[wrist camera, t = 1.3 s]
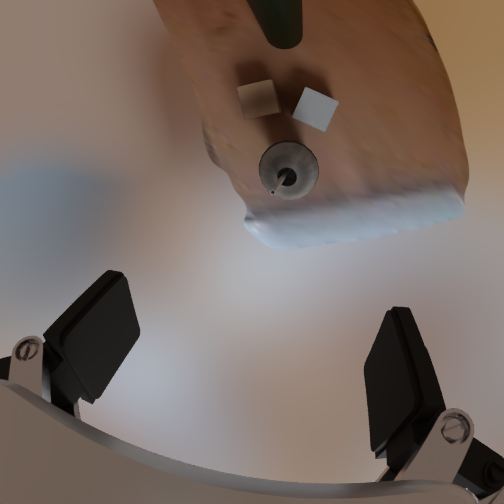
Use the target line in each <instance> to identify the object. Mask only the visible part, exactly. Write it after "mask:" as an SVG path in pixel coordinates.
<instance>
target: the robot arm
mask: <svg viewBox="0 0 504 504" xmlns="http://www.w3.org/2000/svg"><path fill="white" fill-rule="evenodd" d="M43 336H44V338H45V340H46V341H45V342H44V343H43V342H42V340H41V339H40V338H39V337H37V336H28V337H25V338H23V339H21V340H20V341H19V342H18V343H17V344H16V345H15V347H14V348H13V351H12V356H9V357H5V358H2V359H0V504H504V458H503V457H502V456H500V455H499V454H497V453H496V452H495V451H493V450H491V449H490V448H489V447H487V446H486V445H484V444H482V443H481V442H480V441H478V440H477V439H475V438H474V437H473V435H474V424H473V422H472V419H471V418H470V416H469V415H468V414H467V413H465V412H464V411H463V410H460V409H456V408H451V409H447V410H446V406H445V403H444V400H443V396H442V392H441V389H440V386H439V383H438V379H437V376H436V373H435V370H434V367H433V364H432V361H431V359H430V356H429V353H428V350H427V348H426V347H425V345H424V343H423V340H422V337H421V335H420V332H419V330H418V327H417V324H416V322H415V320H414V317H413V315H412V313H411V310H410V308H407V307H393V308H392V309H391V310H388V311H387V312H386V314H385V317H384V319H383V322H382V324H381V327H380V329H379V332H378V334H377V337H376V339H375V341H374V344H373V346H372V348H371V351H370V353H369V355H368V357H367V360H366V362H365V365H364V378H365V386H366V395H367V405H368V416H369V428H370V444H371V450H372V451H373V452H375V456H376V457H375V458H376V459H380V458H387V466H388V467H387V468H386V469H385V470H384V472H383V473H382V474H381V476H380V477H379V478H378V479H377V480H376V481H375V482H370V483H350V484H322V483H321V484H320V483H318V484H317V483H297V482H284V481H274V480H266V479H258V478H252V477H245V476H239V475H234V474H229V473H224V472H219V471H215V470H210V469H206V468H202V467H198V466H195V465H191V464H187V463H184V462H180V461H177V460H174V459H170V458H167V457H164V456H162V455H159V454H156V453H153V452H150V451H147V450H145V449H142V448H140V447H137V446H134V445H132V444H130V443H127V442H124V441H122V440H120V439H118V438H116V437H113V436H111V435H109V434H107V433H105V432H103V431H100V430H98V429H96V428H94V427H92V426H90V425H88V424H86V423H85V422H82V421H81V418H80V412H79V405H78V399H79V398H80V397H81V398H82V399H83V400H85V401H87V402H89V403H91V404H93V403H94V401H95V399H98V398H99V397H100V396H101V395H102V393H103V392H104V390H105V389H106V387H107V385H108V384H109V382H110V380H111V379H112V377H113V376H114V374H115V373H116V371H117V370H118V368H119V367H120V365H121V364H122V362H123V361H124V359H125V357H126V356H127V354H128V353H129V351H130V350H131V348H132V347H133V345H134V344H135V342H136V341H137V340H138V338H139V336H140V327H139V324H138V320H137V317H136V313H135V309H134V305H133V302H132V298H131V294H130V289H129V285H128V281H127V278H126V277H125V276H124V274H123V273H122V272H118V271H113V270H108V271H106V272H105V273H104V274H103V275H102V276H101V277H100V278H98V280H96V281H95V282H94V283H93V284H92V285H91V286H90V287H89V288H88V289H87V290H86V291H85V292H84V293H83V294H82V295H81V296H80V297H79V298H78V299H77V300H76V301H75V302H74V303H73V304H72V305H71V306H70V307H69V308H68V309H67V310H66V311H65V312H64V313H63V314H62V315H61V316H60V317H59V318H58V319H57V320H56V321H55V322H54V323H53V324H52V325H51V326H50V327H49V328H48V329H47V331H46V332H45V333H44V334H43Z"/></svg>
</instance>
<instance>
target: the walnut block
mask: <svg viewBox="0 0 504 504" xmlns="http://www.w3.org/2000/svg"><path fill="white" fill-rule="evenodd" d="M237 90H238V93H239V97H240V101H241V105H242V109H243V113H244V117H245V119H252V118H257V117H262V116H266V115H271V114H276V113H282V110H281V106H280V102H279V98H278V94H277V90H276V86H275V83H274V82H273V80H272V79H270V80H265V81H261V82H256V83H252V84H248V85H244V86H240V87H237Z"/></svg>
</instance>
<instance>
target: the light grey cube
mask: <svg viewBox="0 0 504 504" xmlns="http://www.w3.org/2000/svg"><path fill="white" fill-rule="evenodd" d="M338 103H339V102H338V101H336V100H334V99H332V98H330V97H327V96H325V95H323V94H321V93H319V92H316V91H314V90H312V89H310V88H307V87H305V89H304V91H303V94H302V96H301V98H300V100H299V103H298V105H297V107H296V109H295V111H294V114H293V116H292V118H294V119H297V120H299V121H301V122H304V123H306V124H308V125H310V126H312V127H315V128H317V129H319V130H321V131H323V132H325V131H326V129H327V127H328V124H329V122H330V120H331V118H332V116H333V114H334V111H335V109H336V107H337V105H338Z"/></svg>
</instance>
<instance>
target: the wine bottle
mask: <svg viewBox="0 0 504 504" xmlns="http://www.w3.org/2000/svg"><path fill="white" fill-rule="evenodd" d="M247 2H248V4H249V6H250V7H251V9H252V11H253V13H254V15H255V17H256V19H257V21H258V23H259V24H260V26H261V28H262V30H263V32H264V34H265V36H266V38H267V40H268V42H269V43H270V44H271V45H273V46H274V47H276V48H280V49H290V48H293V47H295V46H297V45H298V44H299V43H300V42H301V40H302V36H303V22H302V0H247Z"/></svg>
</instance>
